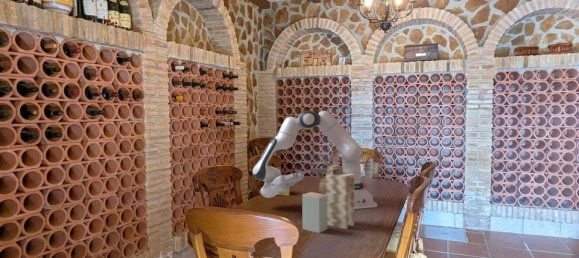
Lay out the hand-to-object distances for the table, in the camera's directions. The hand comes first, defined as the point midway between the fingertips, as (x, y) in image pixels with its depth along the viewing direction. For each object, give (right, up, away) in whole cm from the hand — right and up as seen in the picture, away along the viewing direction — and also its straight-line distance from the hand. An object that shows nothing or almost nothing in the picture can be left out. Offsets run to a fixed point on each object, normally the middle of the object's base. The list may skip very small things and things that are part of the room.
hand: (298, 173), depth 198 cm
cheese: (-10, -21, +53) cm, 58 cm away
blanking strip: (+14, +2, -11) cm, 18 cm away
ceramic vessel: (+23, -22, +34) cm, 46 cm away
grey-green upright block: (+7, -25, -22) cm, 34 cm away
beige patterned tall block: (+21, -24, -16) cm, 35 cm away
